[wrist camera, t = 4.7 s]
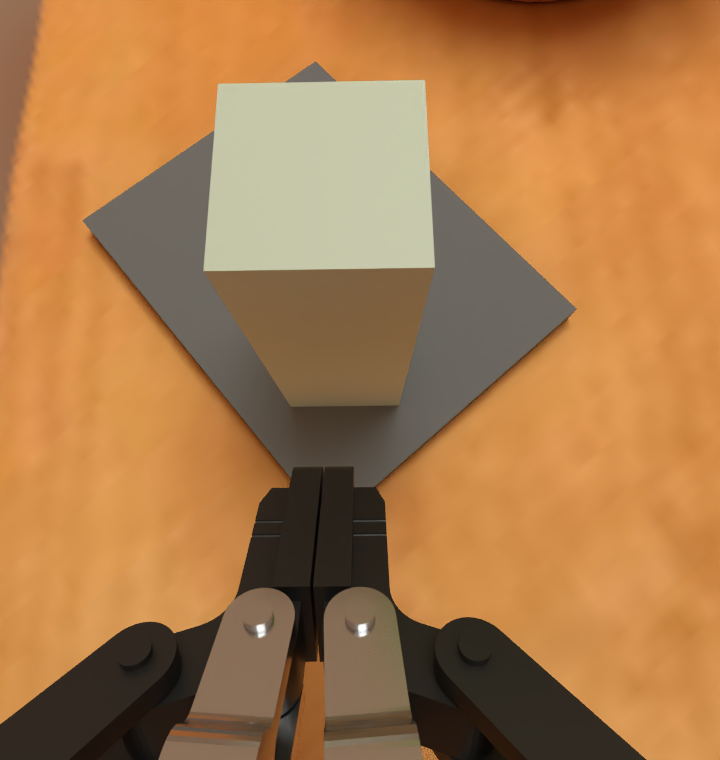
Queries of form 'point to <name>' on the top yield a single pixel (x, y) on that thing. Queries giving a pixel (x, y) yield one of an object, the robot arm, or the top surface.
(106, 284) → the top surface
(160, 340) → the top surface
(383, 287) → the sage block
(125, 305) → the top surface
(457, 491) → the top surface
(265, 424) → the rubber mat
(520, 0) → the potted cactus
